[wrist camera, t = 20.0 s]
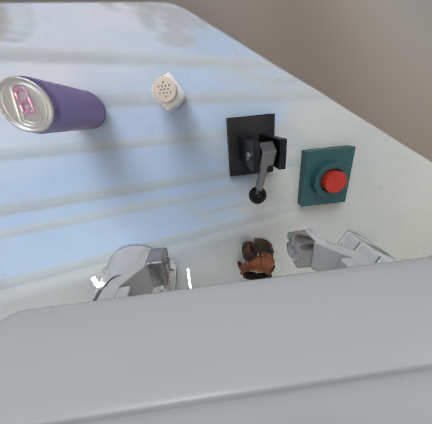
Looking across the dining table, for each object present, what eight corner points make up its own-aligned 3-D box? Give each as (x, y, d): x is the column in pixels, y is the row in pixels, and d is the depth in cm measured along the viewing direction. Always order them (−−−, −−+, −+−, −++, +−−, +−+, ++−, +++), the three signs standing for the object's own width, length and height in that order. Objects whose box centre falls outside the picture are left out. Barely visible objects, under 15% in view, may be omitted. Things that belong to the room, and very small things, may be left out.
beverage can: (100, 89, 35) (40, 71, 22) (111, 126, 38) (62, 131, 24) (65, 92, 35) (-19, 76, 21) (78, 129, 37) (10, 136, 24)
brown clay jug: (280, 249, 53) (282, 280, 49) (248, 255, 59) (247, 283, 54) (259, 226, 46) (259, 260, 41) (225, 235, 51) (221, 266, 46)
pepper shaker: (171, 113, 38) (163, 112, 29) (155, 93, 36) (143, 85, 27) (187, 98, 37) (185, 92, 28) (173, 77, 35) (165, 64, 27)
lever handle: (262, 193, 42) (266, 206, 40) (246, 195, 42) (250, 208, 40) (275, 138, 32) (282, 152, 30) (253, 140, 32) (259, 155, 30)
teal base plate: (338, 198, 48) (350, 204, 44) (297, 203, 48) (305, 210, 44) (348, 145, 43) (362, 147, 39) (302, 150, 43) (311, 153, 39)
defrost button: (339, 189, 43) (345, 191, 41) (319, 191, 43) (324, 194, 41) (343, 168, 41) (349, 170, 40) (322, 170, 41) (327, 172, 39)
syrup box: (333, 247, 54) (377, 288, 41) (347, 229, 52) (398, 266, 39) (350, 253, 55) (397, 295, 42) (364, 235, 53) (418, 274, 40)
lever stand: (271, 170, 44) (296, 187, 33) (229, 174, 43) (241, 194, 32) (272, 113, 39) (302, 111, 28) (226, 118, 39) (238, 118, 28)
